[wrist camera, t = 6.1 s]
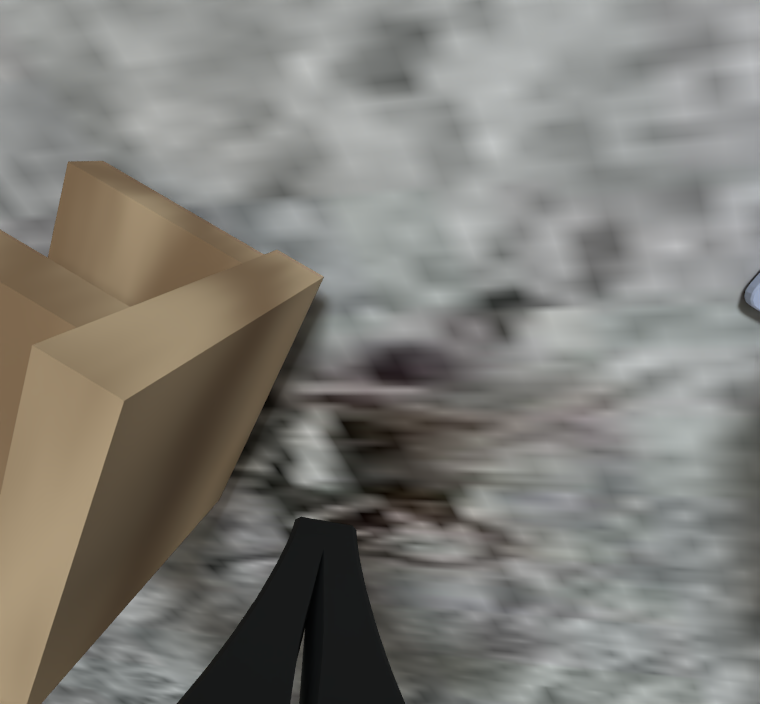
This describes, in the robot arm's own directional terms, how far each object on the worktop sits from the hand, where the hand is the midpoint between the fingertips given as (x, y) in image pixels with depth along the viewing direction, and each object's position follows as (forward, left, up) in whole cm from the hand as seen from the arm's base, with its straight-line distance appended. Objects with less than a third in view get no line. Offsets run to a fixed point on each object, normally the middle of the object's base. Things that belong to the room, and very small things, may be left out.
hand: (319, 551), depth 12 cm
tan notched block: (+9, 0, -7) cm, 11 cm away
